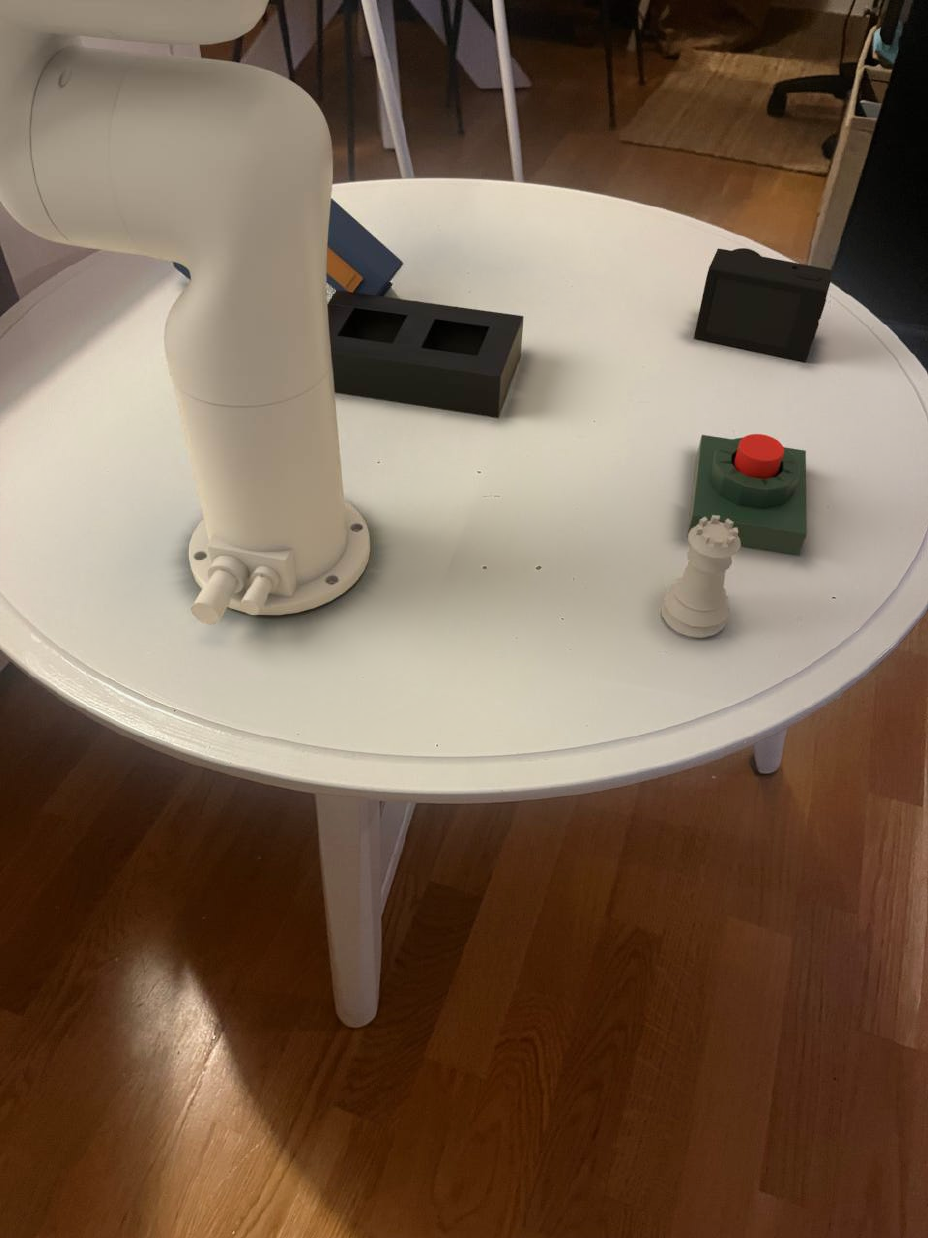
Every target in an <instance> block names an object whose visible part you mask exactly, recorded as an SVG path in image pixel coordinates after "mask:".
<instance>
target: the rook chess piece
mask: <svg viewBox="0 0 928 1238" xmlns="http://www.w3.org/2000/svg"><path fill="white" fill-rule="evenodd" d="M719 519H720V516H716V515H712V517H711V521H708V519H707V518H706V517H703V518H702V519H700V521H699V524H697V526H695V527H694V528H692V529H691V530H690V532H689V534H688V533H687V534H688V537H687V539H688V543H689V544H690V546H691V547H689V549H688V551H687V552H686V555H687V560H688V562H687V565H686V567H685V569H684V572H683V574H682V576H681V577H679V578H678V579H676V581H675V582H673V583H672V584H670V585H669V587H668V589H667V591H666V593H665V594H664V598H663V601H662V602H661V605H660V609H661V610H660V611H661V616H662V618H663V619H664V621H665V622H666V624H667V625H668V627H670V628H671V629H672V630H673V631H675V632H676V633H677V634H680V635H682V636H685V637H687V638H694V639H703V638H707V637H708V638H709V637H712V636H714V635H716V634H718V633H719V632H720V631H722V630H723V629H725V627H726V624H727V623H728V621H729V619H728V615H729V613H730V603H729V602H730V601H729V596H728V595H727V592H726V591H727V590H726V589H725V579H726V572H727V570H728V569H730V567H731V565H732V563H733V560H732V557H733V556H734V555H736V554H737V553H739V551H740V548H741V543H740V538H739V537H738V528H733V529H732V527H733V523H734V522H732V521H731V520H729V519H727V520H726V521H725V523H722V522H719Z"/></svg>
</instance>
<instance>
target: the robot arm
mask: <svg viewBox="0 0 928 1238" xmlns="http://www.w3.org/2000/svg"><path fill="white" fill-rule="evenodd" d="M269 1H270V0H0V203H1V204H2V206H3V207H4V209H5V210H6V211H7V213H8V214H9V215H10V216H11V217H12V218H13V219H14V220H15V221H16V222H17V223H18V225H20V226H22V227H23V228H24V229H25V230H27V231H28V232H30V233H32V234H34V235H36V236H37V237H39V238H42V239H45V240H47V241H51V242H53V243H54V242H55V243H59V244H64V245H67V246H72V247H79V248H85V249H90V250H91V249H93V250H100V251H106V252H114V253H120V254H127V255H135V256H136V255H137V256H144V257H149V258H152V259H155V260H161V261H166V262H167V261H168V262H172V263H173V262H176V263H179V264H181V265H183V266H185V267H186V268H187V269H188V270H189V272H190V276H191V280H189V282H188V283H187V285H186V286H185V288H184V289H183V290H182V291H181V292H180V294H179V295H178V296H177V298H176V299H175V301H174V303H173V304H172V306H171V307H170V310H169V312H168V314H167V316H166V317H167V318H166V319H165V320H166V321H165V324H164V331H163V346H164V353H165V358H166V363H167V367H168V371H169V377H170V378H171V381H172V387H173V390H174V394H175V400H176V404H177V408H178V412H179V417H180V421H181V425H182V429H183V434H184V439H185V444H186V447H187V451H188V456H189V460H190V461H189V462H190V466H191V469H192V474H193V478H194V482H195V487H196V491H197V497H198V501H199V504H200V508H201V512H202V516H203V518H202V520H200V522H198V525H197V526H196V528H195V529H194V531H193V533H192V536H191V538H190V541H189V545H188V559H189V565H190V569H191V573H192V574H193V575H192V576H193V577H194V580H195V582H196V583H197V585H198V586H199V588H200V589H201V591H200V592H199V594H198V595H197V597H196V599H195V601H194V602H193V604H192V606H191V608H190V609H191V613H192V615H193V616H194V617H195V618H196V620H198V621H200V622H201V623H204V624H207V625H216V624H217V623H219V622H221V619H222V617H223V615H224V614H225V612H226V610H227V608H229V609H232V610H235V611H238V612H241V613H245V614H247V615H250V616H283V615H291V614H297V613H301V612H304V611H309V610H313V609H316V608H318V607H320V606H324V605H326V604H327V603H330V602H332V601H333V600H335V599H337V598H338V597H340V596H341V595H343V594H344V593H346V592H347V591H348V590H349V589H350V588H352V587H353V585H355V584H356V583H357V582H358V580H359V579H360V577H361V576H362V575H363V573H364V572H365V570H366V567H367V565H368V562H369V561H370V560H369V559H370V555H371V554H370V553H371V540H370V539H371V536H370V532H369V527H368V525H367V524H368V523H367V522H366V521H365V519H364V517H363V516H362V514H361V513H360V511H358V509H356V508H355V506H353V505H352V504H351V503H349V502H348V501H346V500H345V494H344V483H343V474H342V473H343V471H342V462H341V461H342V460H341V450H340V439H339V438H340V437H339V429H338V428H339V427H338V414H337V403H336V393H335V390H334V378H333V367H332V357H331V346H330V335H329V322H328V307H327V304H328V287H327V286H328V283H327V278H326V269H327V242H328V227H329V216H330V205H331V198H332V191H333V183H334V180H333V177H334V155H333V143H332V136H331V133H330V129H329V125H328V122H327V120H326V117H325V115H324V113H323V112H322V111H323V110H321V108H320V106H319V105H318V103H317V102H316V101H315V100H314V99H313V97H312V96H311V95H310V94H309V93H308V92H307V91H306V90H304V89H303V88H302V87H301V86H300V85H298V84H297V83H296V82H293V81H292V80H290V79H289V78H287V77H285V76H283V75H281V74H279V73H276V72H274V71H272V70H268V69H266V68H263V67H258V66H255V65H252V64H246V63H242V62H236V61H231V60H223V59H214V58H207V57H196V56H185V55H176V54H168V53H158V52H152V53H141V52H131V51H123V50H114V49H106V48H105V49H104V48H95V47H85V46H84V44H83V42H82V39H81V37H89V38H98V39H106V40H116V41H124V42H133V43H145V44H158V45H175V46H176V45H177V46H196V45H197V46H201V45H204V46H205V45H215V44H219V43H225V42H230V41H234V40H237V39H238V38H240V37H242V36H243V35H245V34H247V33H249V32H250V31H251V30H253V29H254V28H255V27H256V26H257V24H258V22H259V21H260V20H261V19H262V18H263V16H264V14H265V12H266V11H267V10H266V9H267V7H268V3H269Z"/></svg>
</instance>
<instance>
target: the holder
mask: <svg viewBox="0 0 928 1238" xmlns="http://www.w3.org/2000/svg"><path fill="white" fill-rule="evenodd" d="M334 291H335V292H334V293H333V295H332V296H331V298H330V299H329V301H327V307H328V322H329V335H330V346H331V357H332V367H333V378H334V390H335V394H341V395H342V394H343V395H348V396H349V395H350V396H355V397H362V398H366V399H375V400H380V401H386V402H387V401H388V402H393V403H400V404H406V405H411V406H412V405H413V406H418V407H424V408H425V407H426V408H431V409H432V408H433V409H439V410H446V411H450V412H451V411H452V412H457V413H458V412H459V413H464V414H471V415H477V416H483V417H490V418H496V419H499V417H500V414H501V412H502V409H503V408H504V407H503V406H504V405H505V404H504V403H505V401H506V399H507V395H508V393H509V390H510V387H511V384H512V381H513V379H514V377H515V373H516V371H517V367H518V365H519V363H520V359H521V358H522V343H523V330H524V329H523V328H524V315H519V314H511V313H504V312H497V311H490V310H482V309H475V308H467V307H460V306H454V305H448V304H440V303H433V302H425V301H419V300H410V299H403V298H400V299H397V298H390V297H383V296H375V295H368V294H361V293H354V292H347V291H339V290H334Z"/></svg>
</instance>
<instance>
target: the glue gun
mask: <svg viewBox="0 0 928 1238" xmlns="http://www.w3.org/2000/svg"><path fill="white" fill-rule="evenodd" d="M172 264H173V267H174V268H175V269H176V270H177V271H178V272H179V273H181V275H183V276H184V277H185V278H187V279H188V280H189V281H190V280H191V276H190V272H189V270H188V269H187V268H186V267H185V266H183V265H181V264H179V263H176V262H172ZM403 266H404V262H403V260H401V259H400V258H399V257H398V256H397V255H396V254H395V253H394V252H392V251H391V250H390V249H389V248H388V247H387V246H386V245H384V243H383V242H381V241H380V240H379V238H377V237H376V236H374V235H373V234H372V233H371V232H370V231H369V230H368V229H367V228H366V227H365V226H364V225H362V224H361V223H360V222H359V221H358V220H357V219H356V218H354V217H353V216H352V215H351V214H350V213H349V212H348V211H347V210H346V209H344V208H343V207H342V206H341V205H340V204H339V203H338V202H336V201H335V200H334V199H333V198H332V197H331V205H330V216H329V227H328V242H327V269H326V278H327V285H329V286H330V287H331V288H332V289H333V290H334V291H336V290H339V291H347V292H354V293H361V294H368V295H375V296H383V297H390V298H397V299H401V297H400V296H399V295H398V293H397V292H396V291H395V290H394V289H393V288H392V287H393V285H394V283H392V282H391V281H392V280H393V279H394V277H395V276H396V275H397V274H398V272H399V271H400V269H401V268H402V267H403Z"/></svg>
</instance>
